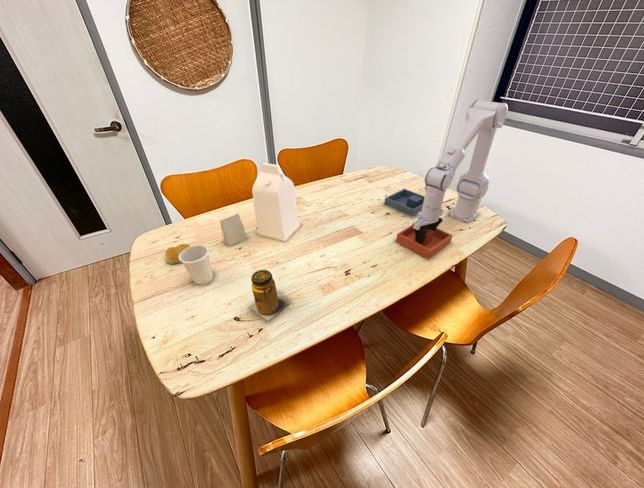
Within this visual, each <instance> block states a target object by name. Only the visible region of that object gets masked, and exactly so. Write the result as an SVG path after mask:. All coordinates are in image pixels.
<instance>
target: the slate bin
mask: <svg viewBox="0 0 644 488" xmlns="http://www.w3.org/2000/svg"><path fill="white" fill-rule="evenodd" d="M413 195H415V196H418V197H421V198H423V199H422V204H421V205H419V206H418V207H416V208H414V209H412V208H409V207H407V206H406V204H407V199H408V198H409V197H411V196H413ZM424 197H425V195H421V194H420V193H417V192H415V191H412V190H410V189H406V188H403V189H400V190H398V191H397V192H394V193H392V194H390V195H388V196H385V197H384V202H383V203H384V205H385V206H387V207H390V208H392V209H394V210H396V211H398V212H400V213H403V214H404V215H407V216H409V217H410V218H411V217H412V218H413V217H415V216H416V215H418V212H420V211H422V206H423V202H424Z"/></svg>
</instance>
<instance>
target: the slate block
mask: <svg viewBox="0 0 644 488" xmlns="http://www.w3.org/2000/svg"><path fill="white" fill-rule="evenodd" d="M422 199H423V198H421V197H418V196H415V195H413V196H411V197H409V198H408V199H407V204H406V206H407V207H409V208H412V209H414V208H416V207H418V206H419V205H421V204H422Z"/></svg>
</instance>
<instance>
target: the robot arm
mask: <svg viewBox="0 0 644 488" xmlns="http://www.w3.org/2000/svg"><path fill="white" fill-rule="evenodd" d="M466 110H467V111H466V115H465V124H464V126H463V127H462V129H461V131H460V133H459V134H458V137H457V139H456V140H455V142H454V144H453V145H450V146H448V147H447V148H446V149H445V151H444V153H443V154H442V155H441V157H440V158H439V160H438V162H437V163H436V165H435V166H433V167H430V168H429V170H428V171H427V172H426V174H425V177H424V181H423V182H424V191H425V193H424V196H425V197H424V202H423V206H422V211H420V212H418V214H417V216H418V218H417V219H416V220H415V221H414V222H413V223H412V224H413V226H412V227H413V228H414V231H415V236H416V242H418V243H420V244H421V243H422V242H423V240H424V237H425V235H426V233H427V232H428V231H429V230H433V231H435V230H436V228H438V227H439V225H440V224H441V223H443V218H442V217H441V216H443V214H444V209H442V205H443V202H444V199H445V196H446V191H447V189H449V187H450V186H451V184H452V182H453V180H454V177H455V176H456V175H455V174H456V170H457V169H458V167H459V166H460V164H461V163H462V161H463V160H464V159H465V157H466V153H465V150H466V149H468V146H469V145H470V144H471V143H472V142H473V140H474V139H475V138H476V141H475V145H474V148H473V152H472V156H471V159H470V163H469V168H468V170H467V171H464V172H463V173H462V174H461V175H460V176H459V178H458V181H457V183H456V186H455V190H456V192H457V195H458V197H457V200H456V203H455V207H454V210H453V211H451V212H450V213H449V215H450V216H452V217H454V218H457V219H460V220H462V221H464V223H468V222H470V221H471V220H473V219H474V218H475V217H477V216H478V215H479V213H478V212H477V211H478V209H479V206H480V205H481V204H480V203H481V201H482V198H484V197H485V195H486V194H487V192H488V190H489V183H490V178H489V177H488V175H487V174H486V173H485V172H484V171H485V167H486V164H487V161H488V158H489V154H490V151H491V149H492V145H493V142H494V138H495V135H496V133H497V129H502V128H503V126H504V124H505V121H506V118H507V114H508V112H509V107H508V104H507V102H496V101H489V100H488V101H487V100H480V99H478V98H477V99H474V100H472V102H471V103H469V105H468V107H467V109H466ZM425 225H426V226H425Z"/></svg>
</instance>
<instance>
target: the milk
mask: <svg viewBox="0 0 644 488" xmlns="http://www.w3.org/2000/svg"><path fill="white" fill-rule="evenodd" d="M251 193H252V200H253V201H252V202H253V207H254V216H255V222H256V230H257V235H259V236H264V237H267V238H271V239H275V240H278V241H282V242H286V241H287V240H288V239H289V238H290V237H291V236H292V235H293V234H294V232H296V230H297V229H299V228H300V226H301V224H300V219H299V211H298V204H297V197H296V190H295V184H294V182H293V180H292V179H290V177H287V176H286V175H285V174H284V173H283V171H282V170H281V167H280V165H279V164H275V163H268V162H263V163H261V166H260V170H259V173H258V175H257V177H256V179H255V181H254V183H253V185H252V189H251Z"/></svg>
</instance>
